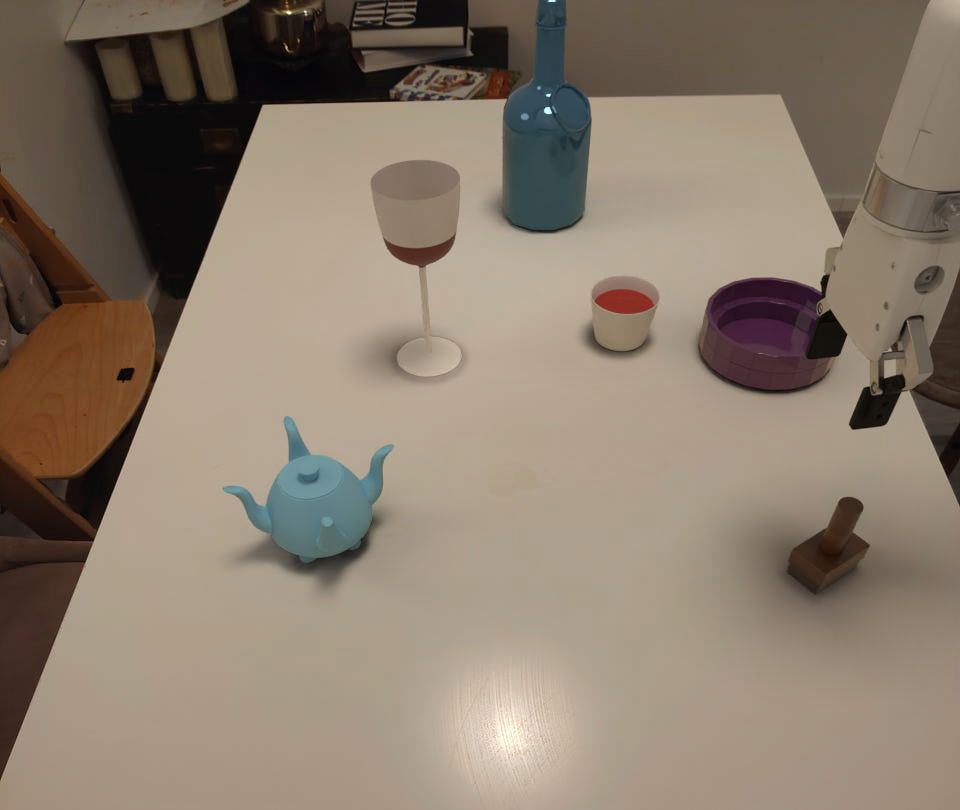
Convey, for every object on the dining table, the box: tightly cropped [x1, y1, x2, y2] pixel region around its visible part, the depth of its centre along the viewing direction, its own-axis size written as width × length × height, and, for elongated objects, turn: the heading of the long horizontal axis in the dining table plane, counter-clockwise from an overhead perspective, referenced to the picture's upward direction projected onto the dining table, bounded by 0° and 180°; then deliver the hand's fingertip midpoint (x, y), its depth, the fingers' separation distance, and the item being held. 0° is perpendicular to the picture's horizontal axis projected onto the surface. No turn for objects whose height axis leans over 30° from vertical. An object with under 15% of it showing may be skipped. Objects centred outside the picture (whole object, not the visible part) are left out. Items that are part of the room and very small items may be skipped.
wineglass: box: [370, 159, 462, 378], centre depth 104 cm, size 9×10×23 cm
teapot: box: [222, 415, 395, 563], centre depth 91 cm, size 13×13×10 cm
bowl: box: [698, 276, 836, 391], centre depth 111 cm, size 17×17×6 cm
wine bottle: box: [501, 0, 593, 231], centre depth 123 cm, size 14×13×30 cm
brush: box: [786, 496, 871, 595], centre depth 87 cm, size 7×4×10 cm, turn 125°
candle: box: [589, 274, 661, 352], centre depth 113 cm, size 9×9×6 cm
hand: (843, 389), depth 75 cm, fingers open, 9 cm apart
